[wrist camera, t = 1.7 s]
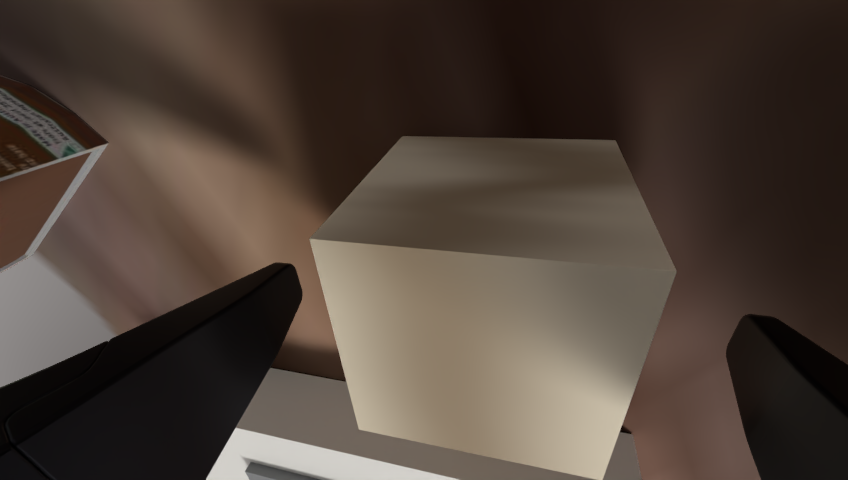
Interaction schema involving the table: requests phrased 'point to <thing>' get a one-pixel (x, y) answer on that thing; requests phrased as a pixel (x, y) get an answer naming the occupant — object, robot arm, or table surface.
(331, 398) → the base
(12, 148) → the food container
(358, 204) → the birch block
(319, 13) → the table surface
